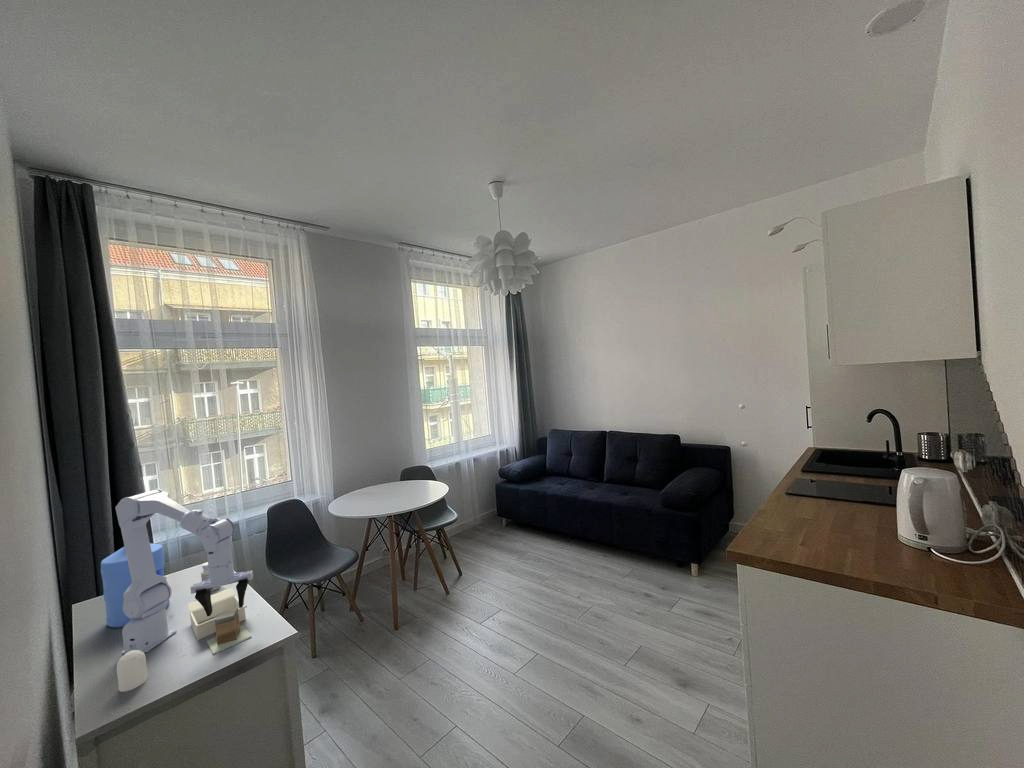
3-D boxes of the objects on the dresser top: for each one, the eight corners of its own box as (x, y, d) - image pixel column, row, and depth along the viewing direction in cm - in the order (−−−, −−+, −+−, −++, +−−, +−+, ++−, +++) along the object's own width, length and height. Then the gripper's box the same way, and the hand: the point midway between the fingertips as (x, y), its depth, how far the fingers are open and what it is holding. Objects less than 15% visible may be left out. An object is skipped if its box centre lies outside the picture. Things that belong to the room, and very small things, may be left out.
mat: (251, 637, 116) (251, 635, 116) (213, 654, 109) (213, 653, 109) (243, 626, 122) (243, 624, 122) (207, 642, 116) (206, 640, 116)
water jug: (111, 634, 125) (101, 545, 125) (103, 620, 135) (93, 537, 134) (175, 608, 138) (166, 527, 137) (163, 597, 147) (154, 521, 147)
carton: (248, 623, 123) (246, 605, 123) (200, 645, 115) (197, 625, 115) (234, 603, 137) (232, 587, 137) (189, 621, 128) (187, 603, 128)
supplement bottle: (218, 583, 154) (215, 558, 154) (223, 587, 150) (220, 561, 150) (201, 590, 149) (198, 564, 149) (205, 594, 146) (202, 567, 146)
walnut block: (236, 639, 115) (233, 615, 115) (217, 645, 113) (214, 620, 113) (240, 631, 119) (237, 607, 119) (222, 636, 117) (219, 612, 117)
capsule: (122, 682, 102) (119, 651, 102) (150, 672, 105) (146, 642, 105) (115, 695, 97) (111, 662, 97) (144, 684, 100) (141, 653, 100)
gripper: (253, 552, 122) (257, 596, 122) (194, 564, 117) (199, 611, 117) (247, 560, 116) (252, 607, 116) (185, 574, 110) (191, 623, 110)
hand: (225, 610), depth 116 cm, fingers open, 7 cm apart
